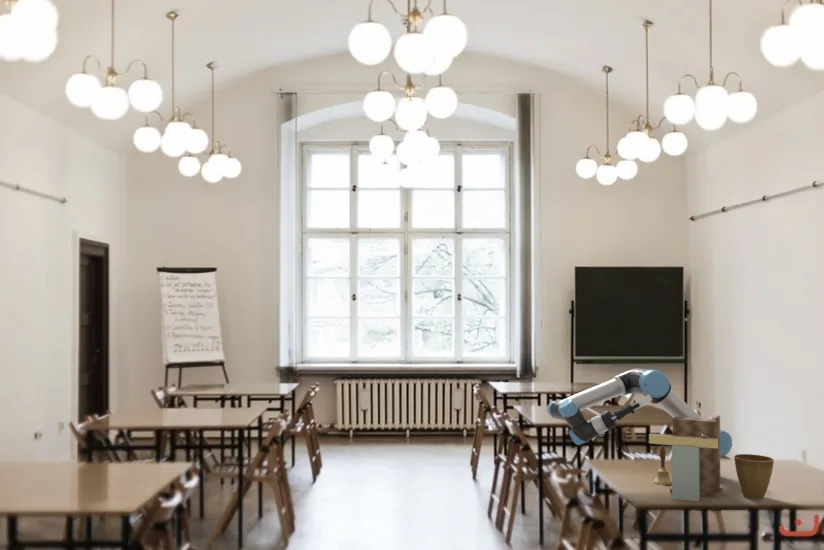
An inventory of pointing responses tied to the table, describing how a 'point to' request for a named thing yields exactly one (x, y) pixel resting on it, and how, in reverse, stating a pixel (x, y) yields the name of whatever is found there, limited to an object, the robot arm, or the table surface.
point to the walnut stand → (703, 451)
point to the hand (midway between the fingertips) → (648, 398)
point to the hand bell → (662, 470)
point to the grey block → (685, 473)
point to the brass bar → (684, 440)
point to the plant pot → (753, 474)
